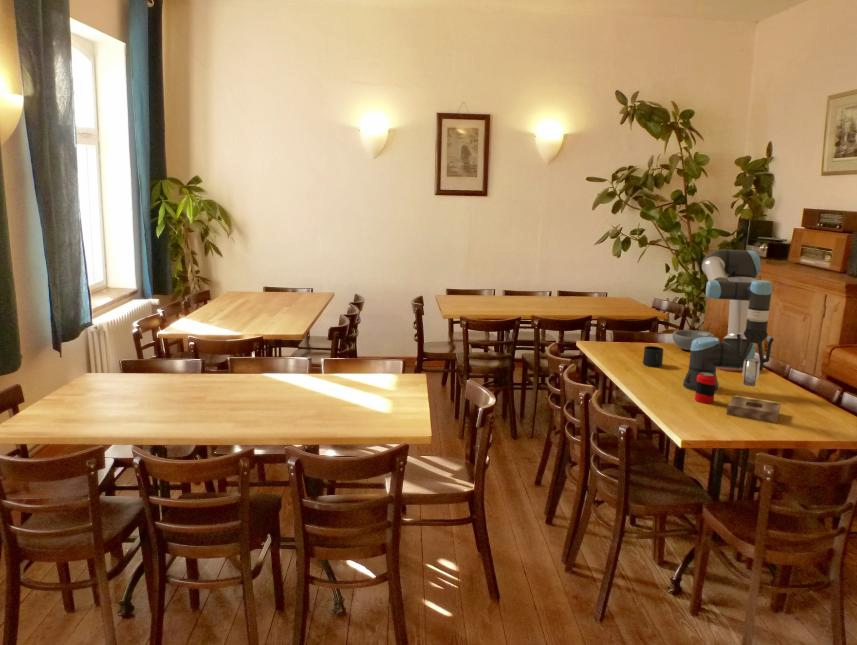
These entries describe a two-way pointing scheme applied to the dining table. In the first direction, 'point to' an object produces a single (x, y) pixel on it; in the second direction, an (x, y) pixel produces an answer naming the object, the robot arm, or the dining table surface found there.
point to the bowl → (688, 337)
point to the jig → (754, 409)
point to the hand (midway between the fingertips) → (750, 376)
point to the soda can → (705, 388)
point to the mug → (653, 356)
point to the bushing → (750, 372)
